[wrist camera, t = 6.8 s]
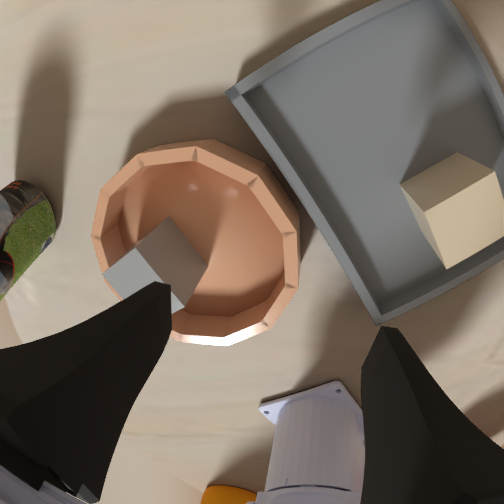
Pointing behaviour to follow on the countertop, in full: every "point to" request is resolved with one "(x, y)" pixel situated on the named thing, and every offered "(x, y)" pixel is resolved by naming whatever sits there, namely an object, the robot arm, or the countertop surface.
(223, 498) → the beer bottle
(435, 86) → the tray
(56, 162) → the countertop surface
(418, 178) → the cream wooden cube
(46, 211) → the beverage can
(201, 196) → the bowl
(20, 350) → the robot arm
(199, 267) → the grey sharp-edged cube
